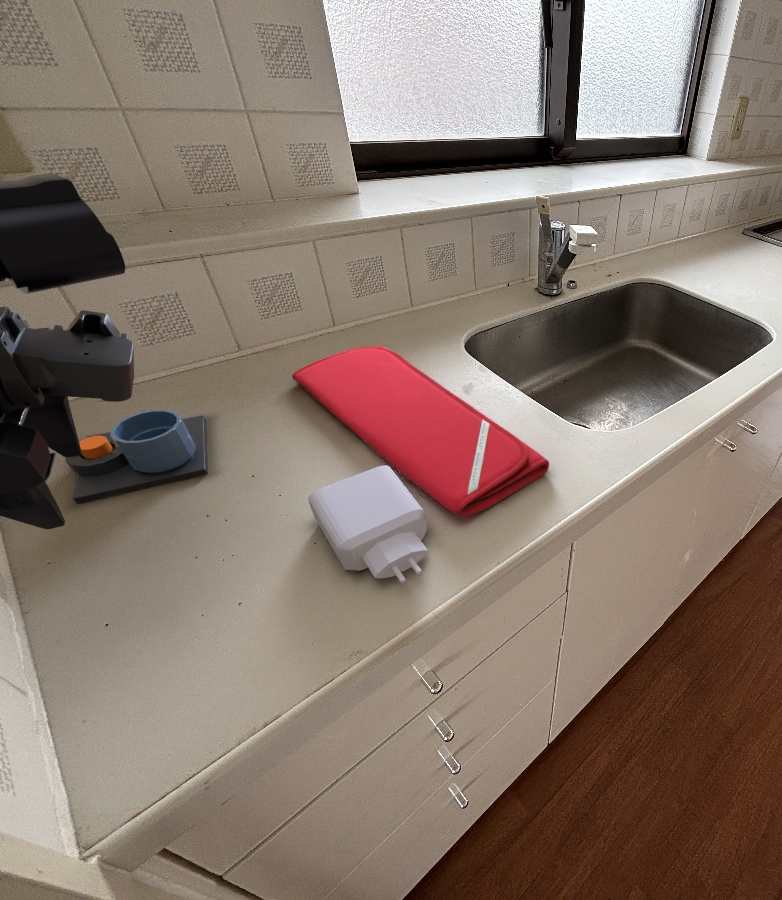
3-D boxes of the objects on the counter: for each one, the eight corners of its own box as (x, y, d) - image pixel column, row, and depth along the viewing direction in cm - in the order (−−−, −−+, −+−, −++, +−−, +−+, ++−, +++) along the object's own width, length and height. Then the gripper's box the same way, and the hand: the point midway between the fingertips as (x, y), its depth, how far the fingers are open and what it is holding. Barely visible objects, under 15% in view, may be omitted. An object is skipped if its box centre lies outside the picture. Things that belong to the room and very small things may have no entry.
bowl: (130, 481, 57) (107, 448, 54) (133, 449, 61) (113, 416, 58) (197, 466, 60) (180, 434, 57) (197, 436, 64) (180, 404, 61)
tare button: (82, 462, 57) (75, 451, 56) (85, 448, 59) (78, 438, 58) (112, 456, 58) (105, 446, 57) (114, 443, 60) (107, 433, 59)
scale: (70, 505, 55) (57, 489, 53) (84, 442, 62) (73, 427, 61) (207, 474, 61) (199, 459, 59) (206, 420, 68) (198, 405, 66)
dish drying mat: (386, 353, 87) (383, 333, 84) (552, 471, 68) (553, 450, 66) (293, 383, 77) (286, 362, 74) (457, 531, 58) (454, 509, 56)
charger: (370, 615, 49) (316, 522, 57) (455, 569, 54) (394, 490, 62) (361, 587, 46) (305, 493, 54) (451, 541, 51) (388, 462, 59)
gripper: (74, 361, 29) (184, 534, 39) (107, 252, 41) (186, 407, 51) (-232, 400, 24) (-16, 588, 34) (-95, 263, 36) (36, 433, 46)
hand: (65, 488), depth 41 cm, fingers open, 9 cm apart
